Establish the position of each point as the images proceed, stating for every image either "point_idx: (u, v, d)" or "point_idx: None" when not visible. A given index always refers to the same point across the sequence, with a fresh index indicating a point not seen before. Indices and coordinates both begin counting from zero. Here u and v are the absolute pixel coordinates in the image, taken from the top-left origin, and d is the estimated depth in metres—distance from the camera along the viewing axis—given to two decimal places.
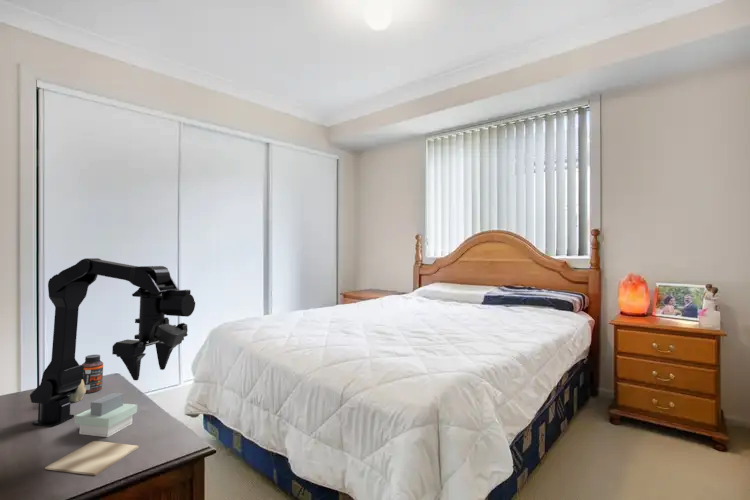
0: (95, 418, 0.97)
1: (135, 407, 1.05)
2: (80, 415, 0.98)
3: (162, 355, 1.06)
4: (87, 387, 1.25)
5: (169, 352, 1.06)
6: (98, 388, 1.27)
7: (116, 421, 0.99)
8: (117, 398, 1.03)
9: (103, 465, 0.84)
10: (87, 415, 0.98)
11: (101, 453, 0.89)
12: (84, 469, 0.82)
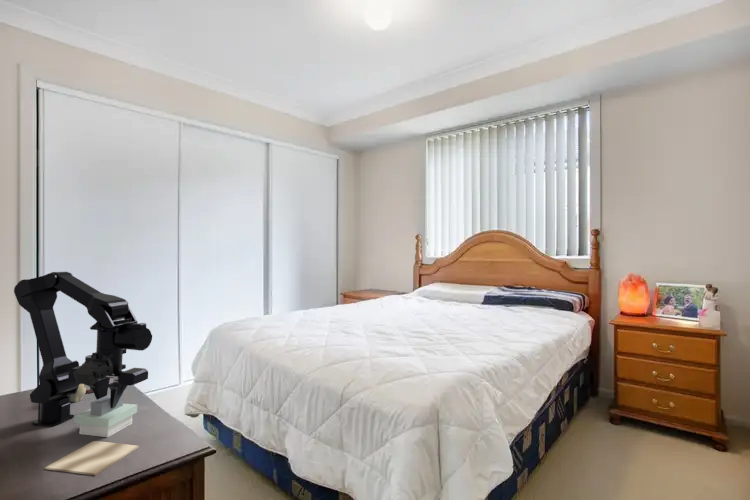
0: (95, 418, 0.97)
1: (135, 407, 1.05)
2: (80, 415, 0.98)
3: None
4: (87, 387, 1.25)
5: (112, 392, 1.00)
6: None
7: (116, 421, 0.99)
8: None
9: (103, 465, 0.84)
10: (87, 415, 0.98)
11: (101, 453, 0.89)
12: (84, 469, 0.82)
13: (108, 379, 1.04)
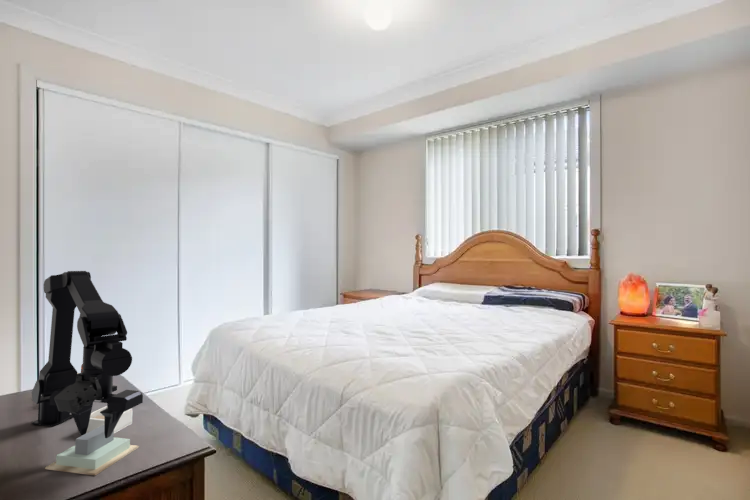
0: (80, 458, 0.83)
1: (127, 442, 0.91)
2: (63, 454, 0.84)
3: None
4: None
5: (106, 419, 0.86)
6: None
7: (105, 461, 0.85)
8: None
9: (103, 465, 0.84)
10: (71, 454, 0.84)
11: None
12: (84, 469, 0.82)
13: (91, 402, 0.90)
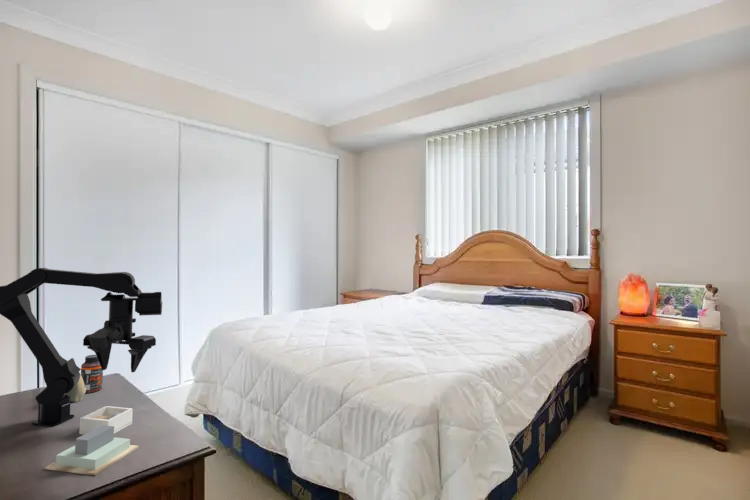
0: (80, 458, 0.83)
1: (127, 442, 0.91)
2: (63, 454, 0.84)
3: None
4: (87, 387, 1.25)
5: (132, 357, 1.09)
6: (98, 388, 1.27)
7: (105, 461, 0.85)
8: (106, 432, 0.89)
9: (103, 465, 0.84)
10: (71, 454, 0.84)
11: None
12: (84, 469, 0.82)
13: (110, 345, 1.14)
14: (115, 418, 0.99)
